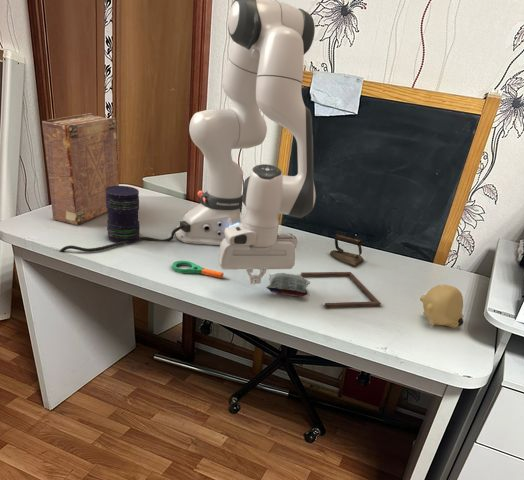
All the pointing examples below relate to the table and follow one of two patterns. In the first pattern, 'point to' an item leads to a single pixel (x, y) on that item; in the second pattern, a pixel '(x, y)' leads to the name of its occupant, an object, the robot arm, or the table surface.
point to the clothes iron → (345, 256)
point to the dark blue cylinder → (122, 214)
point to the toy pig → (443, 306)
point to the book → (80, 165)
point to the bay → (355, 280)
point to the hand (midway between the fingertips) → (254, 283)
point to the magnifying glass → (195, 269)
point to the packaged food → (288, 284)
